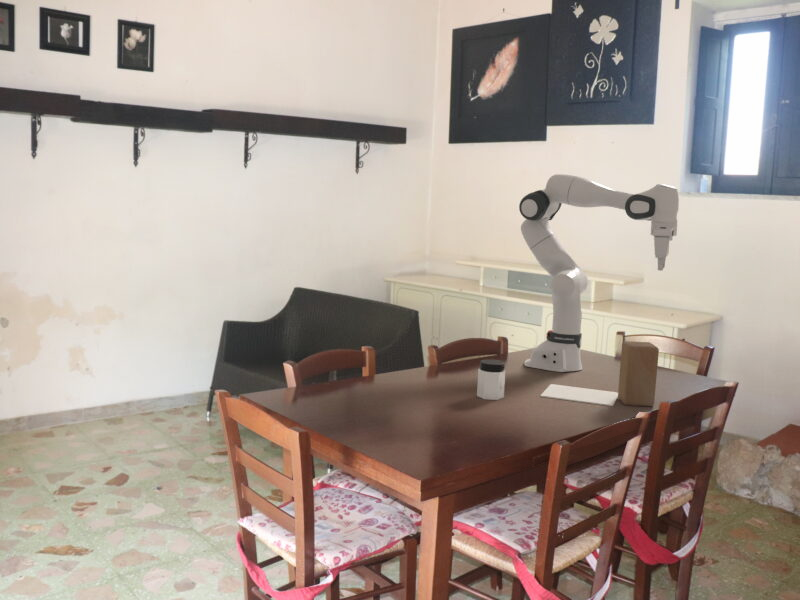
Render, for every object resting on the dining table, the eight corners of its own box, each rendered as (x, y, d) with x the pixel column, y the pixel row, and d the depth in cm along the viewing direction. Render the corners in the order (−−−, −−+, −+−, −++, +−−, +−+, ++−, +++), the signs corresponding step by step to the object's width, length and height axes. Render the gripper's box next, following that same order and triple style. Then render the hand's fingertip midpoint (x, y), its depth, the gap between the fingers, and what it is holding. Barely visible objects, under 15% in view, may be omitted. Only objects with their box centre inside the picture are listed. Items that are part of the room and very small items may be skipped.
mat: (540, 396, 271) (540, 395, 271) (550, 385, 288) (550, 383, 288) (612, 406, 262) (613, 405, 262) (619, 393, 279) (619, 392, 279)
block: (654, 407, 263) (660, 347, 260) (624, 405, 263) (629, 346, 261) (646, 399, 273) (651, 341, 270) (616, 397, 273) (621, 340, 270)
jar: (494, 401, 262) (496, 366, 260) (473, 397, 267) (475, 362, 265) (507, 396, 269) (509, 361, 268) (486, 392, 274) (488, 357, 272)
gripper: (656, 229, 296) (653, 266, 298) (652, 231, 277) (649, 271, 279) (674, 229, 293) (671, 267, 295) (671, 232, 275) (669, 272, 276)
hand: (661, 269), depth 287 cm, fingers open, 8 cm apart
